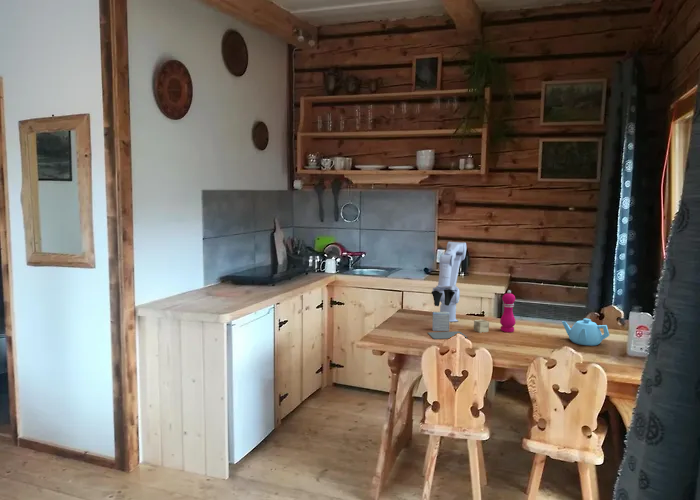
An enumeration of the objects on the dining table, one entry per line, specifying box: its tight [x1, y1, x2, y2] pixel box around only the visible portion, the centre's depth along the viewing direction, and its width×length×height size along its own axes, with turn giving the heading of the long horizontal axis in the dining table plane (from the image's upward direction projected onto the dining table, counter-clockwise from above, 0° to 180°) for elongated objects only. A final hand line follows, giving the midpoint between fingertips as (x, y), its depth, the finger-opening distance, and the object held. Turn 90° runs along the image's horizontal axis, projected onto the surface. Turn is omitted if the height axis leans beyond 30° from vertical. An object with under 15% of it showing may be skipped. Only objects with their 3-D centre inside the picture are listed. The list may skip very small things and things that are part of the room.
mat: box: [427, 330, 468, 340], centre depth 257 cm, size 10×16×1 cm, turn 98°
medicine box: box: [431, 311, 450, 332], centre depth 266 cm, size 8×4×9 cm, turn 84°
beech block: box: [473, 319, 490, 334], centre depth 265 cm, size 5×5×5 cm
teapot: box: [561, 317, 610, 347], centre depth 247 cm, size 15×15×11 cm
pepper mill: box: [499, 289, 516, 333], centre depth 265 cm, size 7×7×20 cm
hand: (441, 305), depth 268 cm, fingers open, 7 cm apart
